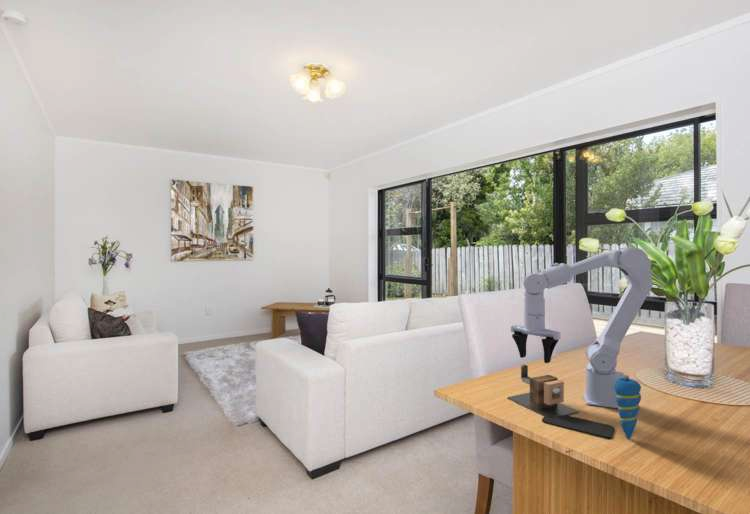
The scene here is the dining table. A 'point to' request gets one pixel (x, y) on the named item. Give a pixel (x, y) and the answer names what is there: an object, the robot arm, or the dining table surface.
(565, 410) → the base plate
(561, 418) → the phone
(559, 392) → the crank handle
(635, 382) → the ornament
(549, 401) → the collar
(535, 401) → the bearing block
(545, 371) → the dining table surface
